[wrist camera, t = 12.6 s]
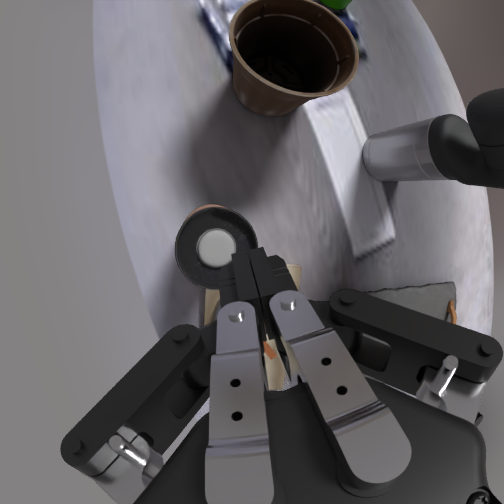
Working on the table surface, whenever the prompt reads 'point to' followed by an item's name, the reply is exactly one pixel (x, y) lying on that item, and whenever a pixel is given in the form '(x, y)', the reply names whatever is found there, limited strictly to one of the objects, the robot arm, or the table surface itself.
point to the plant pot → (289, 54)
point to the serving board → (422, 301)
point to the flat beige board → (274, 365)
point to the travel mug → (211, 243)
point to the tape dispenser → (336, 3)
